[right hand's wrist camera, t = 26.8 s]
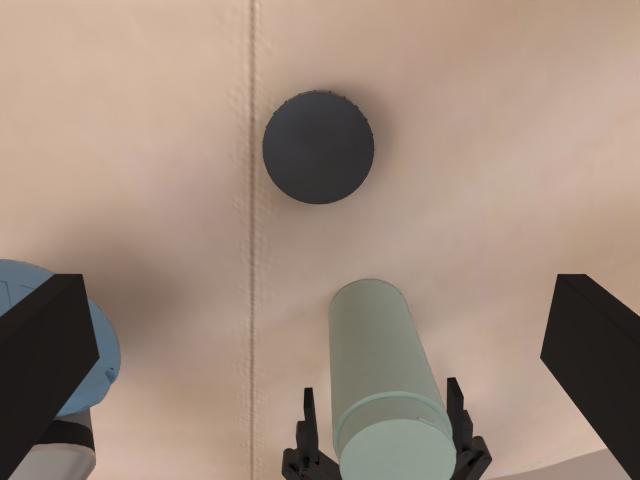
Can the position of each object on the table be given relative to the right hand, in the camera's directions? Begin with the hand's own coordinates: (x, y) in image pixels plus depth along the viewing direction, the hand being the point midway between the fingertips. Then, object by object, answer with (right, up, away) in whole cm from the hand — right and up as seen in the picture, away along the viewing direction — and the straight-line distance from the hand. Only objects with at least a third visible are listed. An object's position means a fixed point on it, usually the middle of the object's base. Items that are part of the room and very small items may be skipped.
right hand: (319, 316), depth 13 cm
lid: (0, +10, +26) cm, 27 cm away
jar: (+5, -5, +34) cm, 34 cm away
